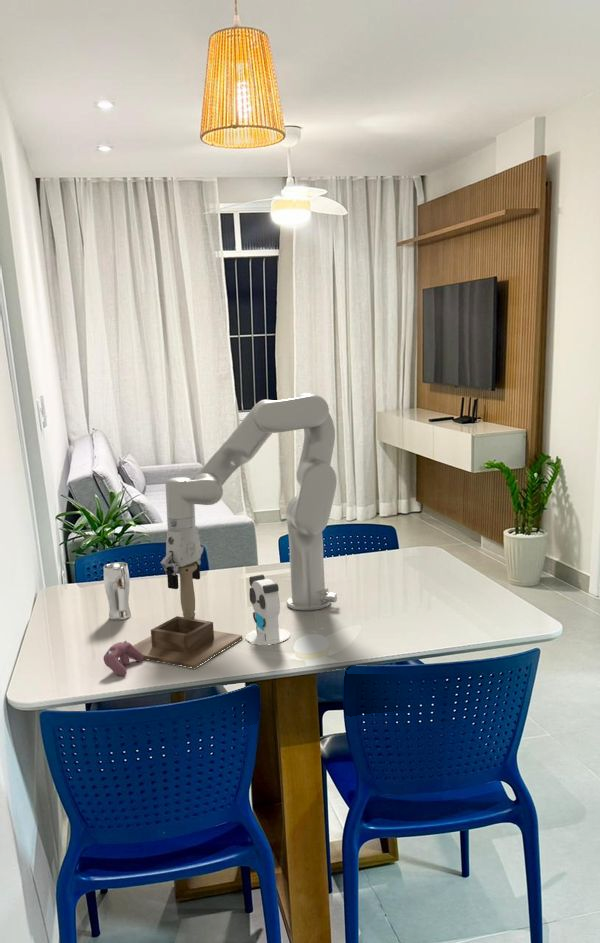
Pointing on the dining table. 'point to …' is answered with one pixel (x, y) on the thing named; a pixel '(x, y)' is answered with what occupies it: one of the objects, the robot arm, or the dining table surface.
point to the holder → (185, 642)
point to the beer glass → (117, 590)
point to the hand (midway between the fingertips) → (184, 583)
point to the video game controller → (121, 657)
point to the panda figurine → (265, 612)
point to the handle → (187, 590)
